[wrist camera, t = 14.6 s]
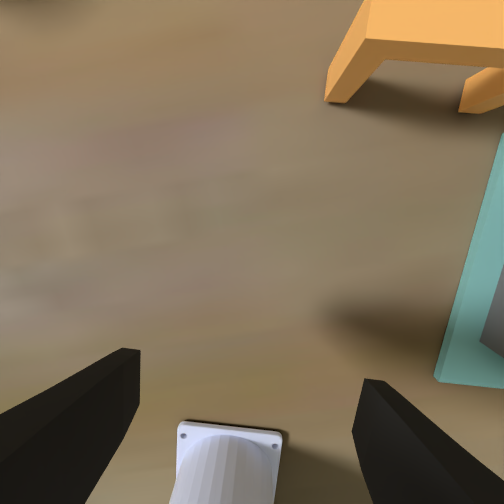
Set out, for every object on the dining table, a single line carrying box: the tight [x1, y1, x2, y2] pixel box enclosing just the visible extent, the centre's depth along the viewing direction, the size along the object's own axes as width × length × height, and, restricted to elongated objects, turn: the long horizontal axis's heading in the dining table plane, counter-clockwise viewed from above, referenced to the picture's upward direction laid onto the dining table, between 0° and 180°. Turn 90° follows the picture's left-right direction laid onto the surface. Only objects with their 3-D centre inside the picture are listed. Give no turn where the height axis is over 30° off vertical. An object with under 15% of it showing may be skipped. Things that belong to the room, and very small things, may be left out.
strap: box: [324, 0, 504, 114], centre depth 11 cm, size 2×9×6 cm, turn 85°
